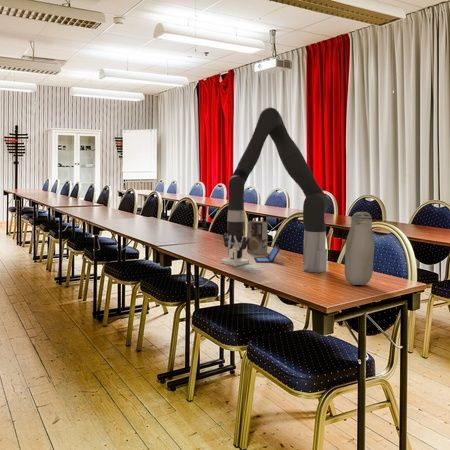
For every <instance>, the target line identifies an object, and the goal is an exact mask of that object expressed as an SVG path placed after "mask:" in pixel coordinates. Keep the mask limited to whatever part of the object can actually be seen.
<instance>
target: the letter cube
mask: <svg viewBox="0 0 450 450" xmlns="http://www.w3.org/2000/svg"><path fill="white" fill-rule="evenodd" d="M237 251H238V249H237V247H233V248H232V249H229V255H228V258H229V261H232V262H239V261H241V259H242V257H241V258H240V259H237Z"/></svg>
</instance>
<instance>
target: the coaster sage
mask: <svg viewBox="0 0 450 450" xmlns="http://www.w3.org/2000/svg"><path fill="white" fill-rule="evenodd" d="M246 266H247V267H252V268H253V269H259V268H264V267H265V266H264V265H259V264H249V265H246Z"/></svg>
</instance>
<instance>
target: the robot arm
mask: <svg viewBox="0 0 450 450" xmlns="http://www.w3.org/2000/svg"><path fill="white" fill-rule="evenodd" d="M268 136H269V137H270V138H271V140H272V141H273V144H274V145H275V148H276V150H277V154H278V157H279V160H280V161H281V165H283V167H284V169H285V171H286V172H287V174H288V175H289V177H291V179H292V180H293V181H294V182H295V183H296V185H298V187H299V188H300V189H301V191H302V193H303V196H305V198H304V201H303V207H302V223H303V229H304V230H303V248H302V249H303V252H302V253H303V254H302V270H303V272H307V273H310V272H311V273H318V274H319V273H324V272H326V271H327V264H328V263H327V262H328V261H327V260H328V248H326V244H327V243H326V239H327V225H326V223H325V213H326V212H327V211H328V209H329V206H330V201H329V198H328V196H327V195H326V193H324V190H323V189H322V187H320V185H319V183H318V182H317V181H316V178H315V177H314V174H313V172H312V170H311V168H310V167H309V164H308V163H307V161H306V159H305V157H304V155H303V153H302V152H301V150H300V149H299V147H298V145H297V144H296V142H295V141H294V140H293V139H292V137H291V135H290V134H289V133H288V129H287V128H286V126H285V123H284V121H283V117H282V115H281V114H280V112H279V111H278V110H277V109H276V108H274V107H266V108H264V109H263V110H262V111H261V112H260V114H259V117H258V119H257V123H256V126H255V128H254V131H253V133H252V135H251V138H250V140H249V142H248V144H247V146H246V148H245V150H244V152H243V153H242V155H241V157H240V160H239V161H238V163H237V166H236V168H235V170H234V172H233V173H232V175H231V176H230V178H229V180H228V201H227V203H228V204H227V207H228V208H227V209H228V210H227V216H226V217H227V220H226V221H227V224H226V225H227V231H228V232H227V233H224V234H222V238H223V239H222V240H223V244H224V247H225V248H227V249H228V251H227V252H228V256H229V249H232V248H234V246H236V248H237V249H238V251H237V259H240V258H241V259H242V258H243V251H244V250H247V243H248V239H249V237H247V236H246V235H244V230H245V201H244V199H245V198H244V195H245V184H246V183H247V181H248V178H249V176H250V174H251V173H252V171H253V170H254V168H255V167H256V165H257V162H258V161H259V158H260V157H261V153H262V151H263V148H264V145H265V142H266V140H267V138H268Z"/></svg>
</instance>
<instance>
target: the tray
mask: <svg viewBox="0 0 450 450" xmlns="http://www.w3.org/2000/svg"><path fill="white" fill-rule="evenodd" d="M220 263H221V264H225V265H228V266H229V265H231V266H234V267H237V266H238V267H239V266H244V265H246V264H250V259H245V258H241V261H239V262H232V261H229V257H228V258H222V259H221V260H220Z"/></svg>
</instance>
